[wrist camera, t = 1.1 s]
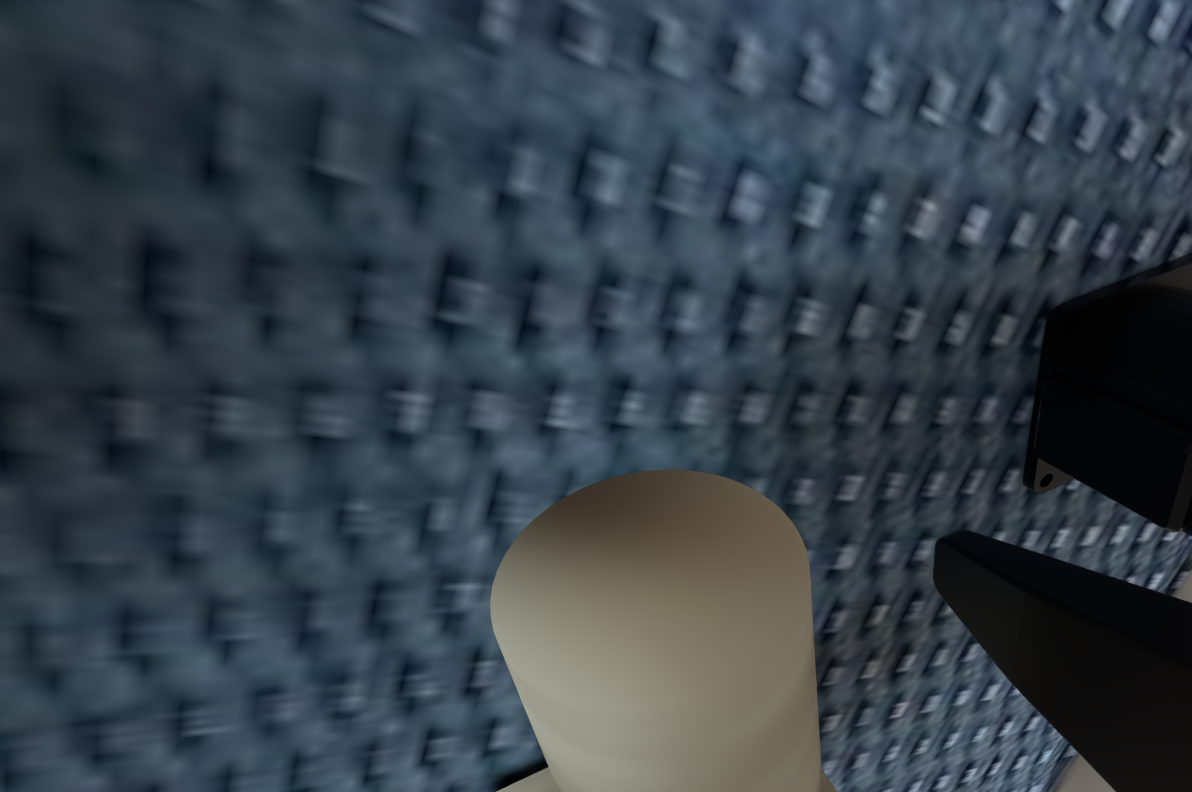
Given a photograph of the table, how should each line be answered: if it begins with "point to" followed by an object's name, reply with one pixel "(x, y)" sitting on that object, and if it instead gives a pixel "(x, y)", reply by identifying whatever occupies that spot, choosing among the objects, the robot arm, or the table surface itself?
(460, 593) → the table surface
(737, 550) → the rod
